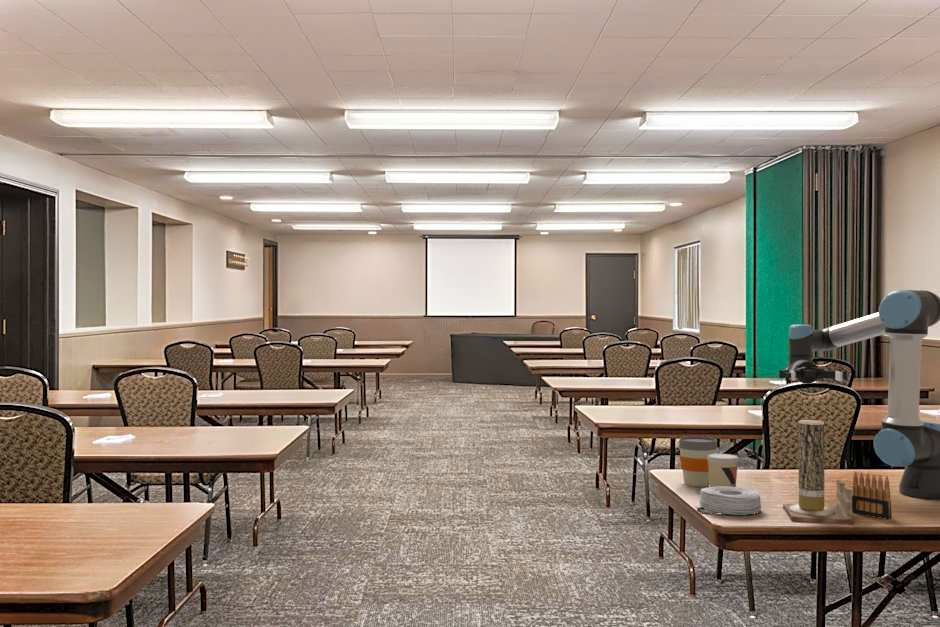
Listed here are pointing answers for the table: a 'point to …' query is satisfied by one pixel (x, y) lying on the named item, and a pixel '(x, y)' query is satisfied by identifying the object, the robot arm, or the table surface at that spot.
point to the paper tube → (811, 465)
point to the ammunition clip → (871, 497)
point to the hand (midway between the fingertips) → (817, 376)
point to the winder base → (826, 509)
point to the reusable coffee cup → (696, 459)
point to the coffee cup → (722, 470)
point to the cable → (729, 500)
